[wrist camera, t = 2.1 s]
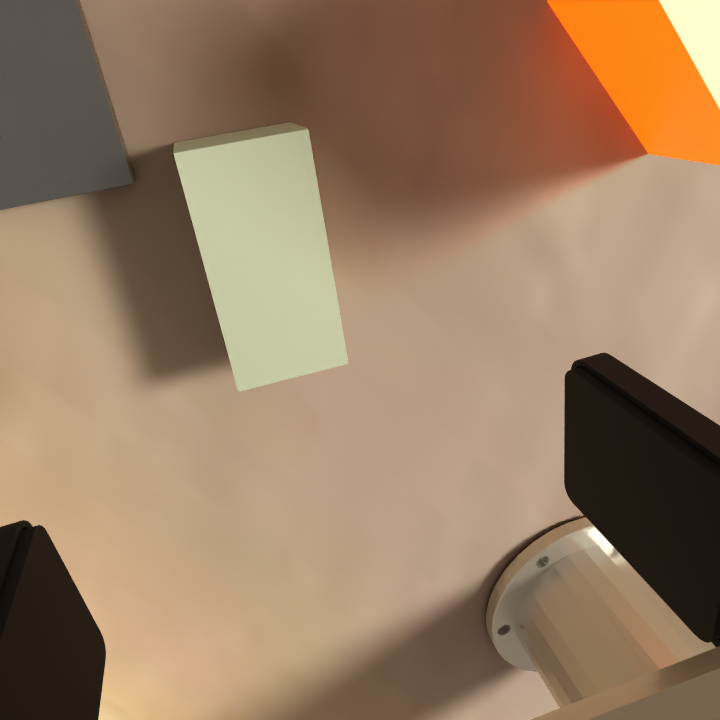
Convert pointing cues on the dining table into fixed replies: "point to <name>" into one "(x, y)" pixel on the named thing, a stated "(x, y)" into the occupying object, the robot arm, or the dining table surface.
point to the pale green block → (264, 250)
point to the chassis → (54, 107)
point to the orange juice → (655, 68)
